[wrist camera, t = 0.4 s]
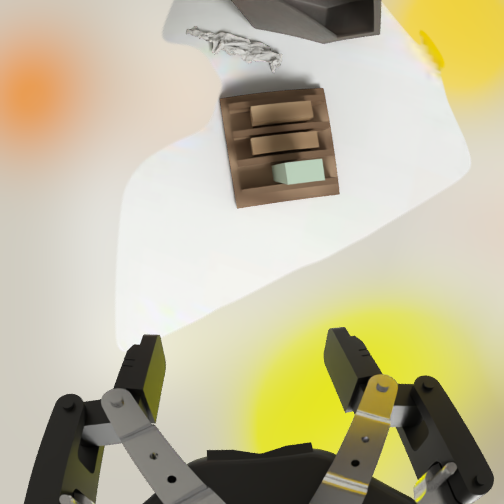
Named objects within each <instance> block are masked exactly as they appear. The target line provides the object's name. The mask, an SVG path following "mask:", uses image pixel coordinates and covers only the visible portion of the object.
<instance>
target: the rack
mask: <svg viewBox="0 0 504 504" xmlns="http://www.w3.org/2000/svg"><path fill="white" fill-rule="evenodd" d="M298 101H311V105H312V111H313V116H314V117H312V118H311V119H310V120H308V121H307V122H306V123H299V124H288V125H279V126H270V127H262V128H255V129H252V126H251V120H250V108H251V106H258V105H267V104H276V103H286V102H298ZM220 104H221V110H222V117H223V123H224V129H225V136H226V142H227V148H228V155H229V161H230V167H231V173H232V180H233V186H234V192H235V198H236V204H237V209H238V208H244V207H250V206H257V205H263V204H270V203H277V202H284V201H291V200H298V199H306V198H313V197H321V196H329V195H337V194H339V185H338V176H337V168H336V161H335V154H334V147H333V140H332V134H331V127H330V121H329V116H328V110H327V105H326V99H325V94H324V89H323V88H316V89H297V90H284V91H273V92H264V93H255V94H248V95H240V96H234V97H227V98H221V99H220ZM311 131H317V136H318V143H319V147H317V148H314V149H307V150H297V151H289V152H280V153H272V154H265V155H258V156H252V151H251V145H250V139H251V138H256V137H264V136H272V135H280V134H289V133H299V132H311ZM315 159H322V162H323V169H324V176H325V180H322V181H313V182H305V183H297V184H289V185H287V184H284V183H280V182H276V181H274V180H273V173H272V167H271V166H273V165H277V164H282V163H288V162H296V161H305V160H315Z"/></svg>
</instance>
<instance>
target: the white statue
mask: <svg viewBox="0 0 504 504" xmlns="http://www.w3.org/2000/svg"><path fill="white" fill-rule="evenodd" d="M197 28H198V27H197V26H194V27H193V29H192V30H187V32H186V34H189V33H190V34H191V35H193V36H199V39H200V38H203V39H204V40H206V41H209V42H213V49H212V53H215V54H218V53H219V51H220V50H223V51H226V52H227V54H229V55H236V54H238V55H241V56H242V59H243V60H244V61H246V62H247V63H248V64H250V63H252V60H253V61H255V62H259V61H262V62H268V63H270V66H271V70H272V72H273V73H275V69H276V68H278V67H279V66H280V65H281V64H280V62H281V61H282V54H276V53H273V52H271V51H270V50H269V49H270V47H269V46H268V45H267V46H266V45H264V43H260V42H252V43H251V42H250V40H249V39H244V38H241V37H237V36H234V35H232V34H229V33H224V32H220V33H218V34H217V35H216V34H213V33H210V32H209V33H206V32H205V33H203V32H202V31H199V30H197ZM212 34H213V35H212ZM232 51H233V52H234V53H235V54H234V53H230V52H232ZM215 54H214V55H215Z"/></svg>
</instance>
